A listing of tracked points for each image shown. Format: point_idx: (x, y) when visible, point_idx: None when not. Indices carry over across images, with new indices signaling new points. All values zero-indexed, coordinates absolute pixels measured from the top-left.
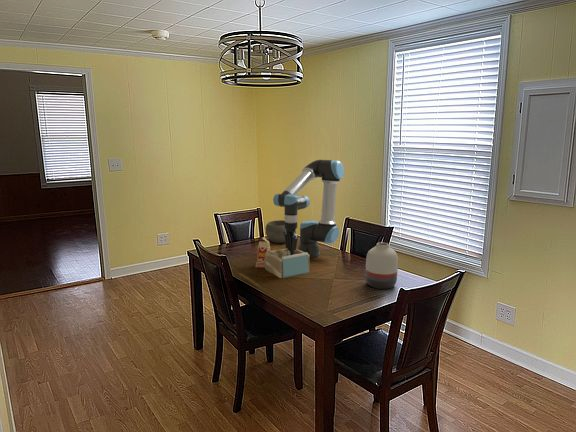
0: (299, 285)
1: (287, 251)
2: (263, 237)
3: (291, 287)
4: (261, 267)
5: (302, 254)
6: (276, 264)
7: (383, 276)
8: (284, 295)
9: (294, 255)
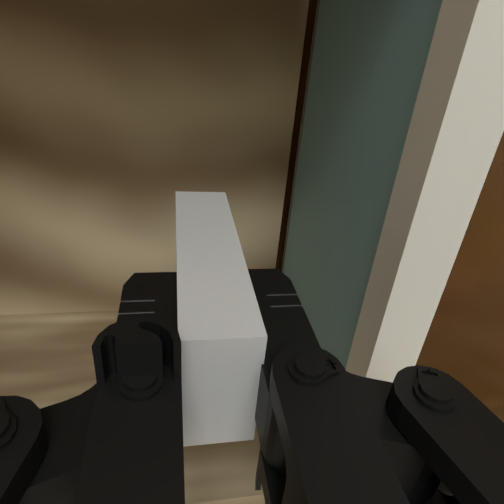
0: (467, 242)
1: None
2: None
3: (444, 309)
4: None
5: (493, 111)
6: None
7: None
8: (492, 391)
9: (419, 344)
